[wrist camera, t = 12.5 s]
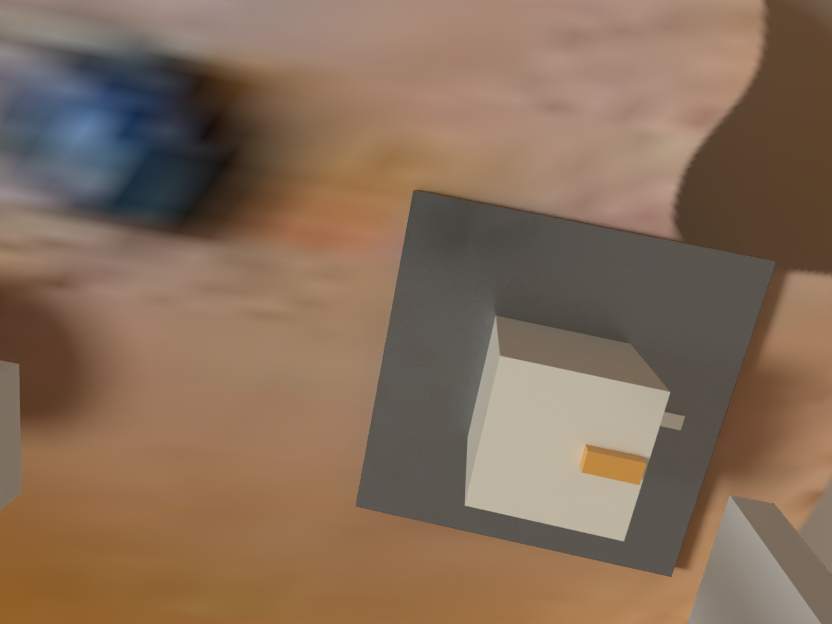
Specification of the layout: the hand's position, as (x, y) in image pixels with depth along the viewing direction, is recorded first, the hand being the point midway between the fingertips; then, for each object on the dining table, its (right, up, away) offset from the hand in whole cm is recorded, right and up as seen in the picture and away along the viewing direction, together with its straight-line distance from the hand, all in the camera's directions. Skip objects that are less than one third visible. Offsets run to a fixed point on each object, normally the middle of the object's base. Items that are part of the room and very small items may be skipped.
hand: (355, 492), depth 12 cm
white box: (+8, -1, +22) cm, 23 cm away
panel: (+8, -1, +23) cm, 24 cm away
